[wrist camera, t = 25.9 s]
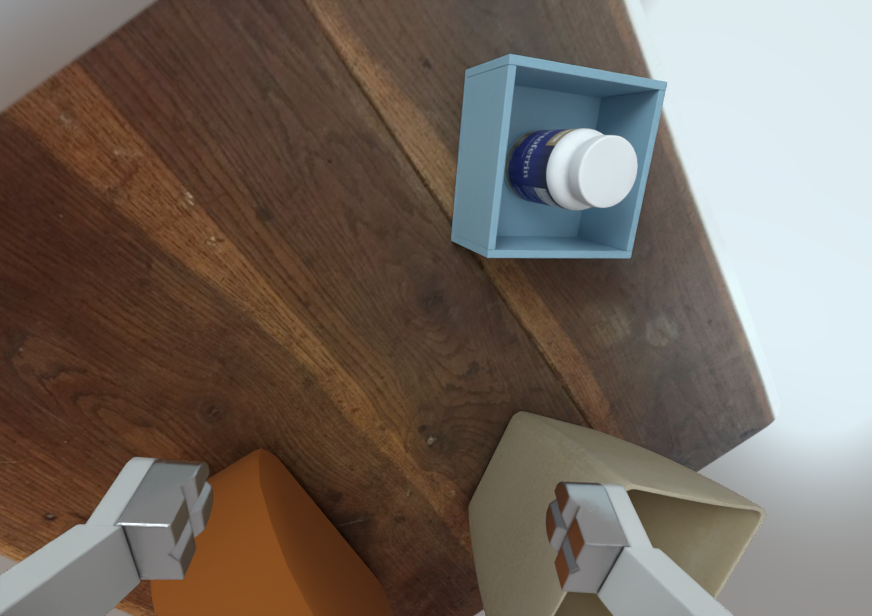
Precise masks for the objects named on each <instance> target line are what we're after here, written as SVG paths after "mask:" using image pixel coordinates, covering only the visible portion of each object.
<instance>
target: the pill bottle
mask: <svg viewBox="0 0 872 616" xmlns="http://www.w3.org/2000/svg"><path fill="white" fill-rule="evenodd" d="M637 168H638V165H637V157H636V153H635V151H634V148H633V147H632V145H631V144H630V143H629V142H628V141H627V140H626V139H624V138H622V137H620V136H615V135H603V134H602V133H600V132H598V131H596V130H593V129H586V128H579V129H558V130H538V131H531V132H527V133H525V134H523V135H522V136H520V137H519V138H517V139H516V140H515V141H514V142H513V144H512V145H511V146H510V148H509V150H508V152H507V155H506V160H505V169H504V176H505V180H506V183H507V185H508V187H509V189H510V190H511V191H512V193H513V194H515V195H516V196H517V197H519V198H521V199H523V200H526V201H530V202H535V203H539V204H544V205H549V206H554V207H558V208H563V209H567V210H584V209H588V208H590V207H597V208H607V207H611V206H614V205H616V204H618V203H619V202H621V201H622V200H623V199H624V198H625V197H626V196H627V194H628V193H629V192H630V190H631V188H632V187H633V184H634V182H635V179H636V175H637Z"/></svg>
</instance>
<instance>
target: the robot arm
mask: <svg viewBox="0 0 872 616" xmlns="http://www.w3.org/2000/svg"><path fill="white" fill-rule="evenodd" d="M209 474H210V471H209V466H208V463H206V462H195V461H183V460H171V459H159V458H143V457H134V458H132V459H131V460H130V461H129V462H127V463H126V465H125V466H124V468H123V469H122V471H121V472H120V474H119V475H118V477H117V478H116V480H115V481H114V483H113V484H112V486H111V487H110V489H109V490H108V492H107V493H106V494H105V496H104V497H103V499H102V500H101V502H100V503H99V505H98V506H97V508H96V509H95V511H94V512H93V514H92V515H91V517H90V518H89V520H88V521H87V523H86V524H77V525H76V526H74V527H73V528H71V529H70V530H68V531H67V532H65V533H64V534H62V535H61V536H59V537H58V538H56V539H55V540H53V541H51V542H50V543H48V544H47V545H45V546H44V547H42V548H41V549H39V550H38V551H36V552H35V553H33V554H32V555H30V556H29V557H27V558H26V559H24V560H23V561H21V562H20V563H18V564H17V565H15V566H14V567H12V568H10V569H9V570H7V571H6V572H4V573H3V574H1V575H0V616H105V615H106V614H107V613H108V612H109V611H110V610H112V609H113V608H114V607H115V606H116V605H117V604H118V603H119V602H120V601H121V600H122V599H123V598H124V597H125V596H126V595H127V594H128V593H130V592H131V591H132V590H133V589H134V588H135V587H136V586H137V585H138V584H139V583H140V579H144V580H183V579H184V577H185V575H186V572H187V570H188V568H189V565H190V563H191V561H192V558H193V556H194V554H195V551H196V545H195V540H194V538H195V537H196V536H197V535H199V534H200V533H201V532H202V531H204V530H205V527H206V525H207V522H208V520H209V517H210V513H211V509H212V505H213V488H212V485H210V484H209V483H208V482H207V481H206V480H207V478H208V476H209ZM554 492H555V496H556V499H555V500H554V501H552V502H551V503H549V506H548V509H547V512H546V532H547V537H548V541H549V544H550V545H551V546H552V547H553V548H554V550H555V551H556V552H557V553H558V555H557V557H556V560H555V562H554V563H555V567H556V571H557V574H558V578H559V582H560V585H561V589H562V591H566V592H582V593H598V595H597V596H598V597H599V598H600V600H601V601H602V602H603V603H604V605H605V606H606V607H607V609H608V610H609V611H610V612H611V614H612V615H613V616H733V615H732V614H731V613H730V612H729V611H728V610H727V609H726V608H725V607H723V606H722V605H721V604H720V603H719V602H718V601H717V600H716V599H715V598H714V597H712V596H711V595H710V594H709V593H708V592H707V591H706V590H705V589H704V588H702V587H701V586H700V585H699V584H698V583H697V582H696V581H695V580H694V579H692V578H691V577H690V576H689V575H688V574H687V573H686V572H685V571H684V570H682V569H681V568H680V567H679V566H678V565H677V564H676V563H675V562H674V561H672V560H671V559H670V558H669V557H668V556H667V555H666V554H665V553H664V552H662V551H661V550H660V549H659V548H653V547H652V545H651V543H650V540H649V538H648V536H647V534H646V532H645V530H644V528H643V526H642V524H641V521H640V519H639V517H638V515H637V513H636V511H635V509H634V507H633V505H632V502H631V500H630V498H629V496H628V494H627V492H626V490H625V488H624V487H623V486H622V485H618V484H599V483H588V482H564V481H561V482H559V483H558V484H557V486H556V488H555V491H554Z"/></svg>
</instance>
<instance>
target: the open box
mask: <svg viewBox="0 0 872 616" xmlns="http://www.w3.org/2000/svg"><path fill="white" fill-rule="evenodd" d="M666 86H667V82H664V81H658V80H653V79H647V78H642V77H636V76H630V75H625V74H619V73H614V72H608V71H603V70H597V69H592V68H586V67H580V66H575V65H569V64H564V63H558V62H553V61H547V60H542V59H536V58H531V57H525V56H519V55H514V54H509V55H506V56H503V57H500V58H497V59H495V60H492V61H489V62H486V63H484V64H481V65H478V66H475V67H473V68H470V69H467V70H466V72H465V84H464V95H463V107H462V118H461V130H460V141H459V152H458V164H457V175H456V187H455V198H454V210H453V221H452V233H451V241H453V242H455V243H457V244H459V245H461V246H463V247H465V248H467V249H470V250H472V251H474V252H476V253H478V254H480V255H482V256H484V257H486V258H631V254H632V249H633V244H634V239H635V235H636V230H637V225H638V220H639V215H640V211H641V206H642V201H643V196H644V191H645V186H646V182H647V177H648V172H649V167H650V162H651V158H652V153H653V148H654V143H655V138H656V134H657V129H658V124H659V119H660V114H661V109H662V105H663V100H664V95H665V90H666ZM579 128H586V129H593V130H596V131H598V132H600V133H602V134H603V135H615V136H620V137H622V138H624V139H626V140H627V141H628V142H629V143H630V144H631V145H632V147H633V148H634V151H635V153H636V157H637V165H638V168H637V175H636V179H635V182H634V184H633V187H632V188H631V190H630V192H629V193H628V194H627V196H626V197H625V198H624V199H623V200H622V201H621V202H619V203H618V204H616V205H614V206H611V207H607V208H597V207H590V208H588V209H584V210H567V209H563V208H558V207H554V206H549V205H544V204H539V203H535V202H530V201H526V200H523V199H521V198H519V197H517V196H516V195H515V194H513V193H512V191H511V190H510V189H509V187H508V185H507V183H506V180H505V176H504V169H505V160H506V155H507V152H508V150H509V148H510V146H511V145H512V144H513V142H514V141H515V140H516V139H517V138H519V137H520V136H522V135H523V134H525V133H527V132H531V131H538V130H558V129H579Z"/></svg>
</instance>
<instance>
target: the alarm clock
mask: <svg viewBox="0 0 872 616" xmlns="http://www.w3.org/2000/svg"><path fill="white" fill-rule="evenodd" d="M206 481H207V482H208V483H209V484H210V485H212V488H213V505H212V509H211V513H210V517H209V520H208V522H207V525H206V527H205V530H204V531H202V532H201V533H200V534H199V535H197V536H196V537H195V538H194V540H195V545H196V551H195V554H194V556H193V558H192V561H191V563H190V565H189V568H188V570H187V572H186V575H185V577H184V579H183V580H150V582H151V593H152V601H153V606H154V610H155V614H156V616H394V615H393V612H392V609H391V607H390V604H389V601H388V598H387V595H386V593H385V591H384V589H383V587H382V586H381V584H380V582H379V580H378V579H377V578H376V577H375V576H374V574H373V573H372V572H371V571H370V569H369V568H368V567H367V566H366V565H365V563H364V562H363V561H362V560H361V559H360V557H359V556H358V555H357V554H356V552H355V551H354V550H353V549H352V548H351V546H350V545H349V544H348V543H347V542H346V540H345V539H344V538H343V537H342V535H341V534H340V533H339V532H338V531H337V529H336V528H335V527H334V526H333V524H332V523H331V522H330V521H329V520H328V518H327V517H326V516H325V515H324V514H323V512H322V511H321V510H320V509H319V507H318V506H317V505H316V504H315V503H314V501H313V500H312V499H311V498H310V497H309V495H308V494H307V493H306V492H305V490H304V489H303V488H302V487H301V486H300V484H299V483H298V482H297V481H296V479H295V478H294V477H293V476H292V475H291V473H290V472H289V471H288V470H287V469H286V467H285V466H284V465H283V464H282V462H281V461H280V460H279V459H278V458H277V456H275V455H274V454H272V453H271V452H269V451H267V450H264V449H262V448H260V449H257V450H254V451H253V452H251V453H249V454H248V455H246V456H245V457H243V458H241V459H240V460H238V461H236V462H235V463H233V464H231V465H230V466H228V467H226V468H225V469H223V470H221V471H220V472H218V473H216V474H215V475H213V476H212V477H210V478H208V479H207V480H206Z"/></svg>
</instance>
